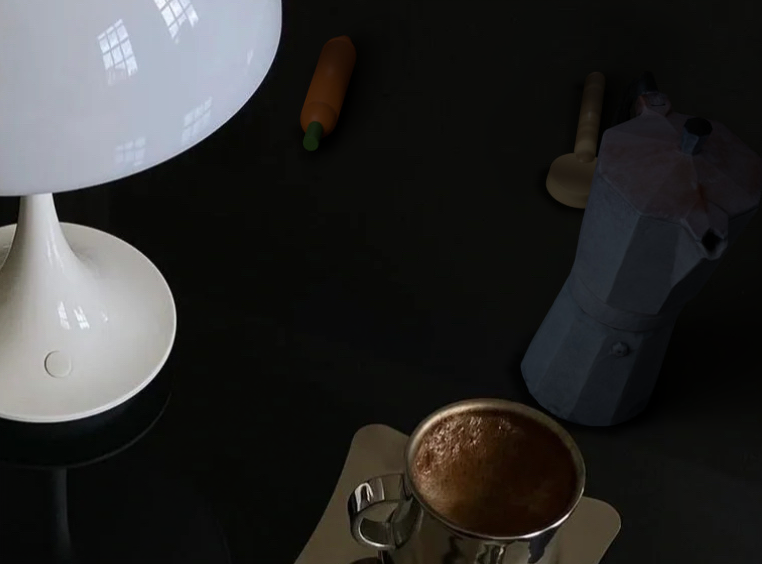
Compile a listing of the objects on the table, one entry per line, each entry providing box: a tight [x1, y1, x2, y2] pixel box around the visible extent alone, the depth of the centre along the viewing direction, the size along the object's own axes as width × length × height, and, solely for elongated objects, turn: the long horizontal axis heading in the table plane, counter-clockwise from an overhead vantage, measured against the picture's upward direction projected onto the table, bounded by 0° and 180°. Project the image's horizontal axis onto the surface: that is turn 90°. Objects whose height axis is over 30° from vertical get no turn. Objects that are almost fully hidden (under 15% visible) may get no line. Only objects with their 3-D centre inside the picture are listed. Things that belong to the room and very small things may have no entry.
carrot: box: [299, 34, 357, 152], centre depth 102 cm, size 14×3×3 cm, turn 166°
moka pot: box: [520, 70, 762, 427], centre depth 80 cm, size 10×15×20 cm, turn 12°
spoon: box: [545, 71, 607, 209], centre depth 101 cm, size 15×5×2 cm, turn 166°
